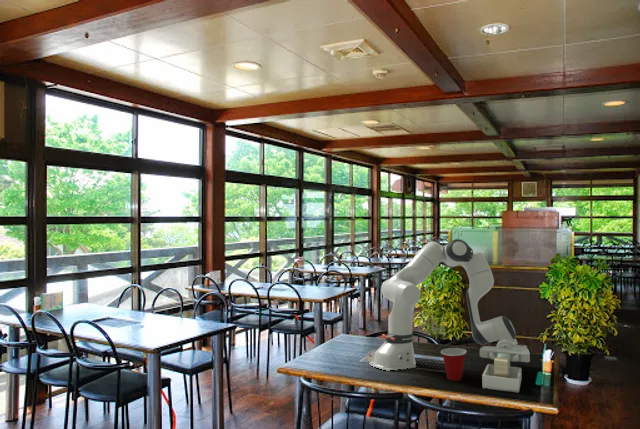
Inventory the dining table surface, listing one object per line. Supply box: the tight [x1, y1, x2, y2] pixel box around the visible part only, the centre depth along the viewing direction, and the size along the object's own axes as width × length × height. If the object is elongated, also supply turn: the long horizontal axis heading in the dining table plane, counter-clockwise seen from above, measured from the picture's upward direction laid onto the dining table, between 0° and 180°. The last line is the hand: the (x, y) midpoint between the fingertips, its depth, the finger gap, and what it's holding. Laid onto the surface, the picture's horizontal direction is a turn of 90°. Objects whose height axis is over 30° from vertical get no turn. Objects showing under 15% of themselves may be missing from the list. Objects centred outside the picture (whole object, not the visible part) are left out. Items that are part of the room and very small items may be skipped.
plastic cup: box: [440, 347, 467, 382], centre depth 213 cm, size 11×11×12 cm
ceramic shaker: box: [497, 353, 511, 378], centre depth 210 cm, size 5×5×10 cm
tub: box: [481, 363, 523, 394], centre depth 206 cm, size 18×14×5 cm
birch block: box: [493, 357, 509, 378], centre depth 203 cm, size 5×5×10 cm
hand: (503, 358), depth 209 cm, fingers open, 7 cm apart
